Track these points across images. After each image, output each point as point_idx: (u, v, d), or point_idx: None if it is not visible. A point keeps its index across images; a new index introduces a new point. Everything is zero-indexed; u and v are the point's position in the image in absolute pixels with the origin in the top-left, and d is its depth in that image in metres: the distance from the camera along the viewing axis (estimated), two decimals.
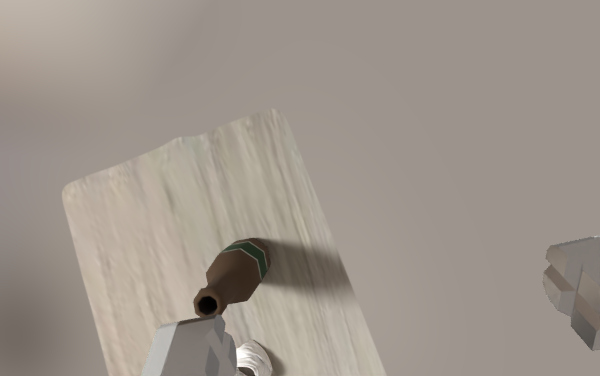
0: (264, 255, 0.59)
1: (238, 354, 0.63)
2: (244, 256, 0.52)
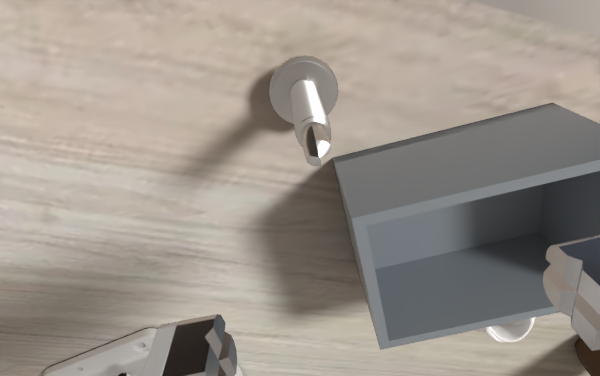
0: None
1: None
2: None
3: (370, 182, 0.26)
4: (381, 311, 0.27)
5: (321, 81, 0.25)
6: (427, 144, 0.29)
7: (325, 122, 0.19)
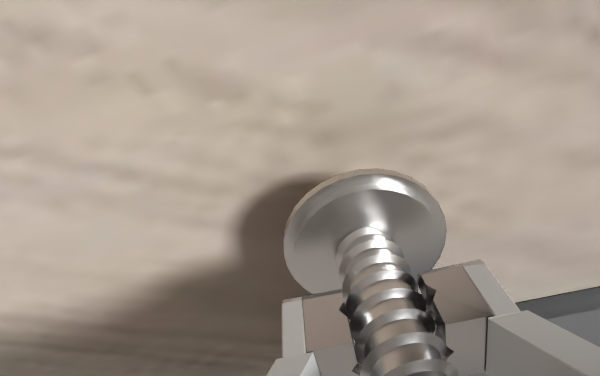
0: None
1: None
2: None
3: None
4: None
5: (412, 228, 0.10)
6: None
7: None
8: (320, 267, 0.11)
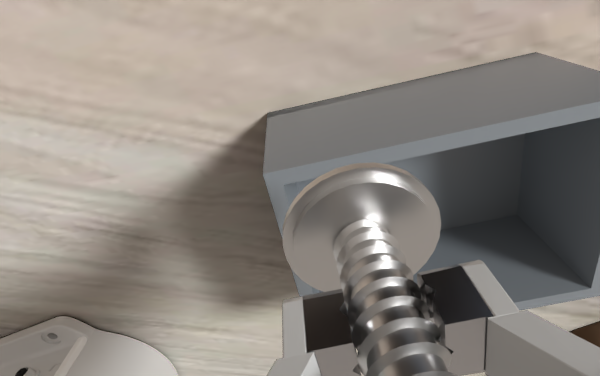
0: None
1: None
2: None
3: (300, 135, 0.21)
4: None
5: (407, 221, 0.11)
6: (380, 96, 0.23)
7: None
8: (318, 259, 0.11)
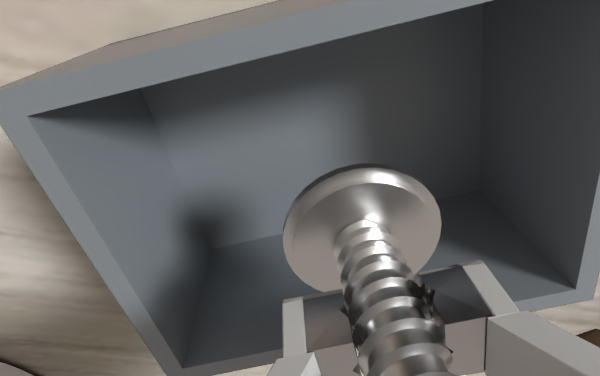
0: None
1: None
2: None
3: (107, 52, 0.13)
4: (145, 314, 0.14)
5: (408, 221, 0.11)
6: (258, 7, 0.16)
7: None
8: (319, 259, 0.11)
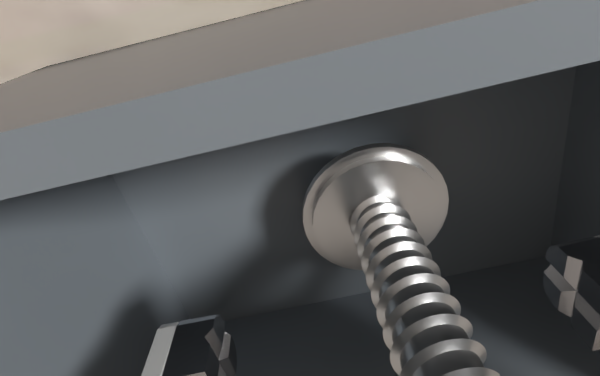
0: None
1: None
2: None
3: None
4: None
5: (418, 197, 0.12)
6: (255, 17, 0.10)
7: None
8: (335, 233, 0.12)
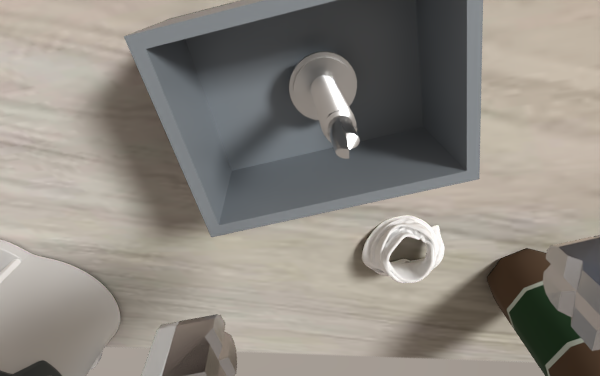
0: None
1: (436, 251, 0.36)
2: None
3: (179, 19, 0.22)
4: (198, 181, 0.23)
5: (341, 77, 0.26)
6: None
7: (351, 116, 0.19)
8: (304, 96, 0.26)
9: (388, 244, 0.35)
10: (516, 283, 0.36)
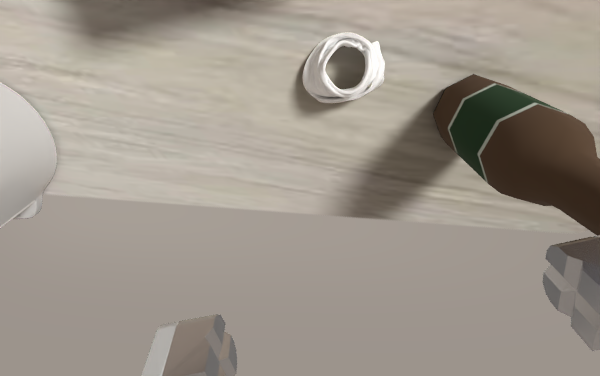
0: None
1: (375, 67, 0.35)
2: None
3: None
4: None
5: None
6: None
7: None
8: None
9: (325, 54, 0.34)
10: (457, 98, 0.35)
